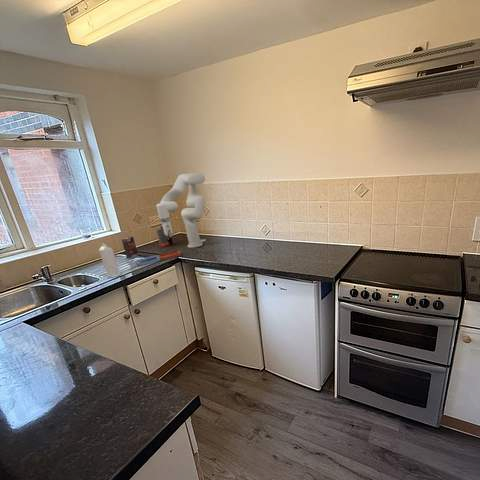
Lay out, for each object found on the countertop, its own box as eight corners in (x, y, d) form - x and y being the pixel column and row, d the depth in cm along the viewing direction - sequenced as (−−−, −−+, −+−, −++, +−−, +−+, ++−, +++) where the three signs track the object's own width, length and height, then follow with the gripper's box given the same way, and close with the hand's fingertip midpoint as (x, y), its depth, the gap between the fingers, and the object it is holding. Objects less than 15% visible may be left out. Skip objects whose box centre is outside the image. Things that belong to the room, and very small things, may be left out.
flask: (159, 247, 258) (154, 227, 252) (171, 243, 270) (166, 223, 264) (162, 247, 257) (157, 227, 250) (174, 243, 269) (169, 223, 262)
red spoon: (174, 242, 230) (173, 240, 230) (175, 243, 227) (175, 241, 226) (158, 246, 225) (157, 244, 224) (159, 247, 221) (159, 245, 221)
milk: (116, 273, 204) (106, 242, 196) (120, 274, 200) (110, 243, 192) (107, 276, 199) (97, 244, 192) (111, 278, 196) (101, 245, 188)
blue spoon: (156, 258, 227) (155, 256, 226) (157, 259, 223) (157, 257, 222) (140, 262, 221) (139, 260, 221) (141, 263, 218) (140, 261, 217)
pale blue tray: (157, 257, 230) (156, 255, 229) (160, 260, 221) (159, 258, 220) (136, 262, 223) (135, 260, 222) (139, 266, 214) (138, 263, 213)
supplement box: (132, 258, 235) (126, 239, 229) (126, 259, 236) (120, 239, 230) (138, 255, 243) (133, 236, 237) (133, 255, 244) (128, 236, 238)
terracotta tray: (177, 252, 237) (177, 250, 237) (181, 255, 228) (181, 252, 228) (158, 257, 230) (157, 254, 230) (161, 260, 221) (160, 258, 221)
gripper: (172, 220, 216) (178, 245, 223) (167, 218, 229) (173, 241, 235) (162, 222, 213) (168, 247, 219) (157, 220, 225) (163, 243, 232)
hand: (170, 244), depth 227 cm, fingers closed on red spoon, 1 cm apart
